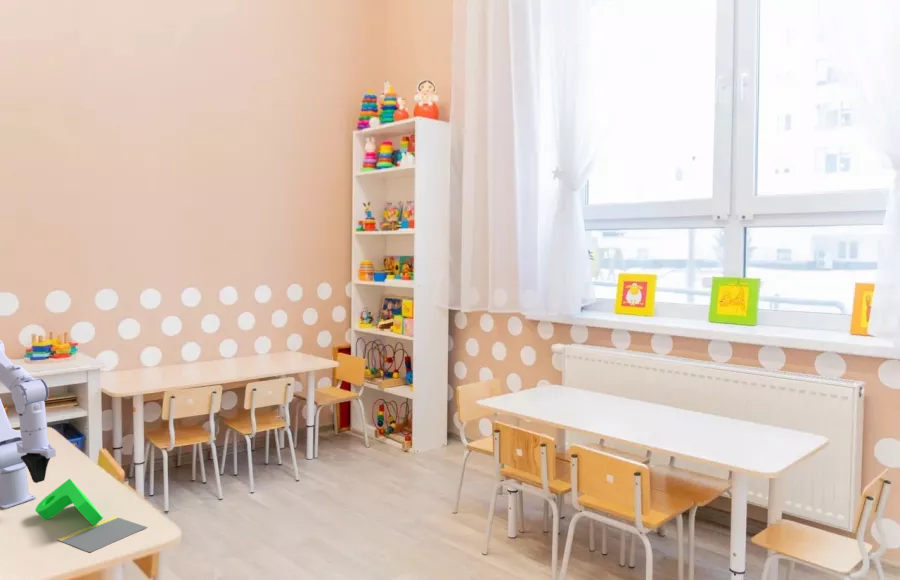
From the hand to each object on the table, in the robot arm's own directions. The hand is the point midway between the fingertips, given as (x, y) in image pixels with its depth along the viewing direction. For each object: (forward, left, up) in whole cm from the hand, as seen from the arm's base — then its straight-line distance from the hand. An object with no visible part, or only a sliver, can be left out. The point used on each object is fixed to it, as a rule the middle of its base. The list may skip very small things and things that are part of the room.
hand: (38, 481), depth 173 cm
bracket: (+12, 0, -8) cm, 15 cm away
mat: (+26, 0, -8) cm, 28 cm away
